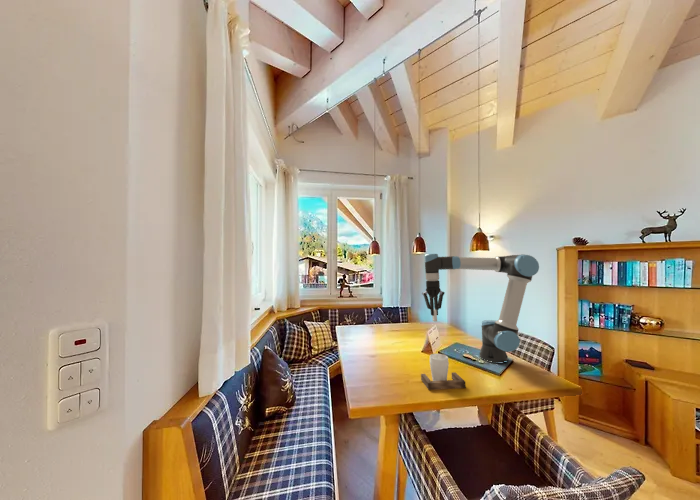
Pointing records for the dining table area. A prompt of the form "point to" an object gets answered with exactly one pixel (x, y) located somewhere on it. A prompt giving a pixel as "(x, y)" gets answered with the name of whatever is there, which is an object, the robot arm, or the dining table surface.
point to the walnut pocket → (444, 382)
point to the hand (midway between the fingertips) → (434, 321)
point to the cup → (439, 367)
